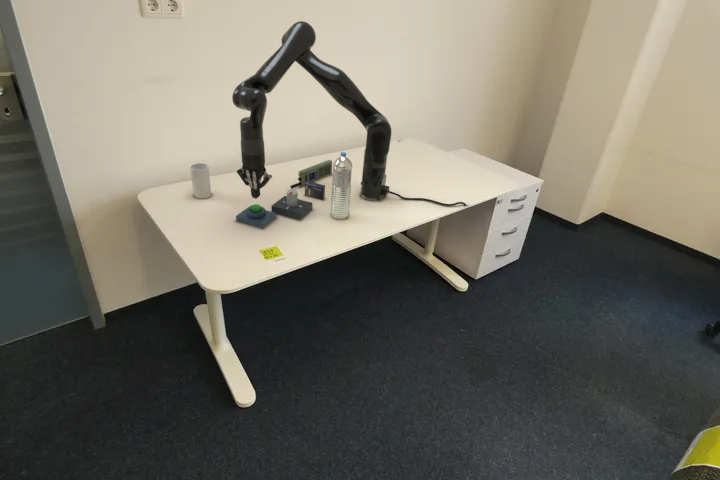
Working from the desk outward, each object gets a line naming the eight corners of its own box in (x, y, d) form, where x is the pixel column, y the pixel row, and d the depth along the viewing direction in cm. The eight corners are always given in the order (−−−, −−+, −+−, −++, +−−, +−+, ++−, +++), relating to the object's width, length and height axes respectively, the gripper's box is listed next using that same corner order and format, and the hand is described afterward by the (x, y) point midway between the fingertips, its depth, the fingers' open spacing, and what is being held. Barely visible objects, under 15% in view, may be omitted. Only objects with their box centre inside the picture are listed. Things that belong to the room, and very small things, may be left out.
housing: (276, 218, 156) (276, 208, 154) (262, 229, 149) (262, 219, 147) (250, 210, 159) (249, 201, 157) (236, 221, 152) (235, 211, 150)
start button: (263, 209, 153) (262, 205, 152) (257, 214, 150) (257, 209, 150) (254, 207, 154) (254, 203, 153) (248, 211, 151) (248, 207, 150)
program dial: (289, 200, 162) (289, 188, 160) (299, 203, 161) (299, 190, 159) (285, 205, 159) (284, 192, 156) (294, 207, 158) (294, 194, 155)
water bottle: (341, 221, 158) (346, 157, 145) (326, 215, 161) (329, 152, 148) (351, 214, 163) (356, 152, 150) (337, 209, 166) (340, 147, 153)
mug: (215, 195, 167) (212, 167, 161) (199, 200, 163) (195, 171, 157) (202, 186, 173) (198, 159, 167) (186, 191, 169) (182, 162, 162)
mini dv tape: (304, 195, 174) (305, 182, 171) (306, 194, 175) (306, 180, 172) (322, 200, 172) (323, 186, 168) (324, 198, 173) (325, 185, 170)
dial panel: (312, 209, 164) (312, 202, 163) (300, 220, 156) (300, 213, 155) (284, 202, 167) (284, 195, 166) (271, 212, 159) (271, 205, 158)
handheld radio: (333, 175, 194) (294, 191, 176) (327, 173, 196) (288, 189, 178) (333, 161, 191) (293, 176, 173) (327, 159, 192) (288, 174, 175)
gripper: (276, 150, 141) (277, 197, 151) (242, 143, 145) (245, 189, 154) (264, 157, 135) (266, 205, 145) (228, 149, 139) (233, 197, 148)
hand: (255, 197), depth 149 cm, fingers closed
